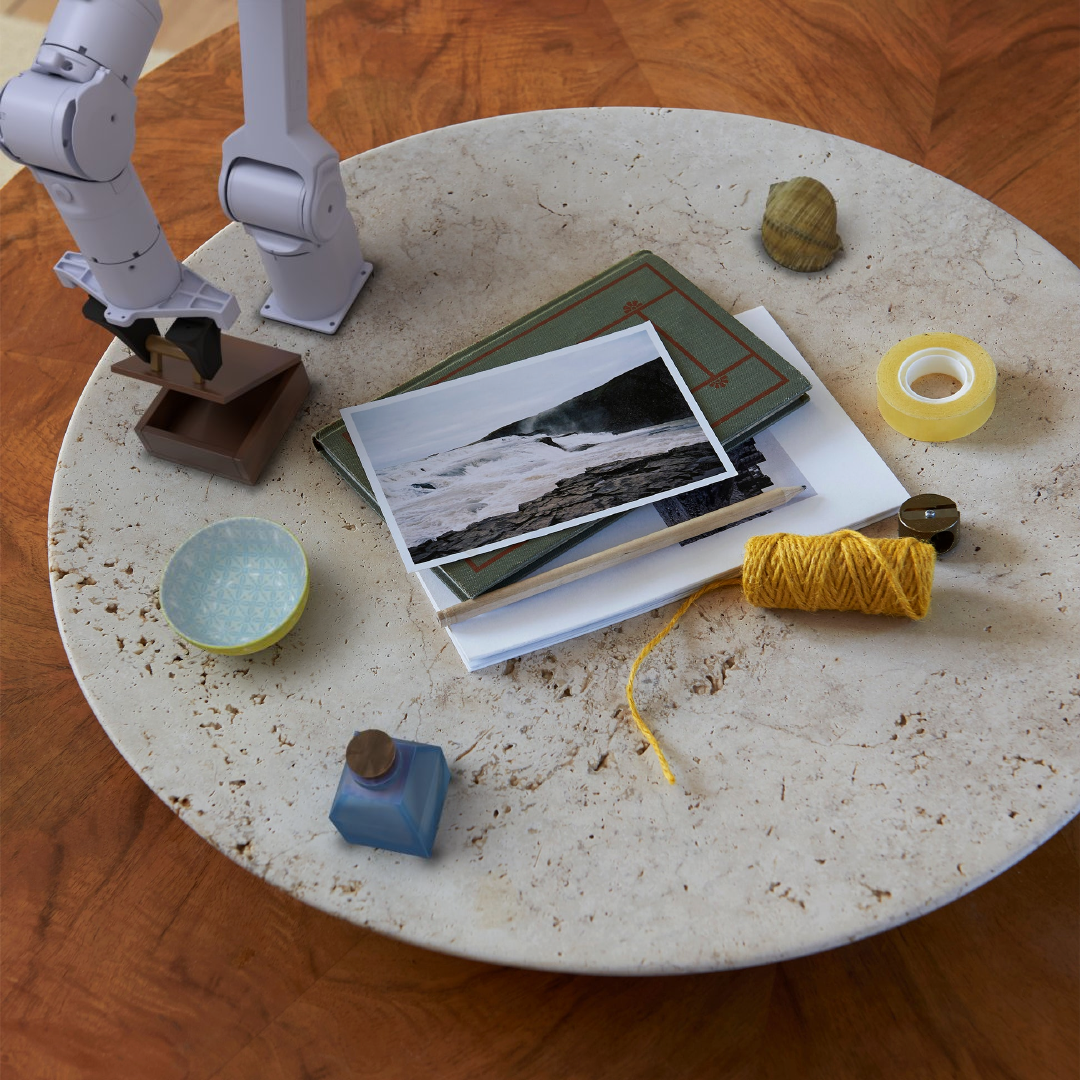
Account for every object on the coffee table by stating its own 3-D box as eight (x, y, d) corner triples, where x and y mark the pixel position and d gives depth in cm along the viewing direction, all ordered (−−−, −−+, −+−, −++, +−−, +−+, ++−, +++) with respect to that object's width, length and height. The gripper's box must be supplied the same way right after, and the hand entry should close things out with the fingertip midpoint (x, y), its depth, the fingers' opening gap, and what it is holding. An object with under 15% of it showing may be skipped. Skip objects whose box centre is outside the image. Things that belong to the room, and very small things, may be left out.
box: (253, 486, 91) (240, 461, 88) (148, 454, 93) (132, 429, 90) (312, 387, 96) (302, 360, 93) (212, 359, 99) (199, 332, 95)
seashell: (823, 286, 106) (874, 217, 102) (807, 289, 100) (861, 216, 96) (748, 230, 108) (795, 161, 104) (728, 230, 102) (778, 156, 98)
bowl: (201, 702, 81) (174, 670, 75) (172, 582, 86) (145, 544, 81) (342, 651, 83) (325, 615, 77) (304, 536, 88) (286, 496, 83)
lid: (224, 404, 83) (224, 363, 81) (110, 372, 85) (108, 331, 83) (301, 360, 93) (302, 323, 91) (198, 332, 95) (197, 295, 93)
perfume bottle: (429, 858, 74) (404, 809, 64) (346, 841, 75) (308, 791, 65) (450, 775, 77) (430, 715, 67) (370, 760, 78) (337, 698, 68)
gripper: (0, 251, 73) (80, 376, 85) (180, 299, 70) (237, 422, 82) (57, 185, 76) (126, 315, 88) (230, 228, 73) (279, 356, 85)
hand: (183, 362), depth 85 cm, fingers closed on lid, 5 cm apart
